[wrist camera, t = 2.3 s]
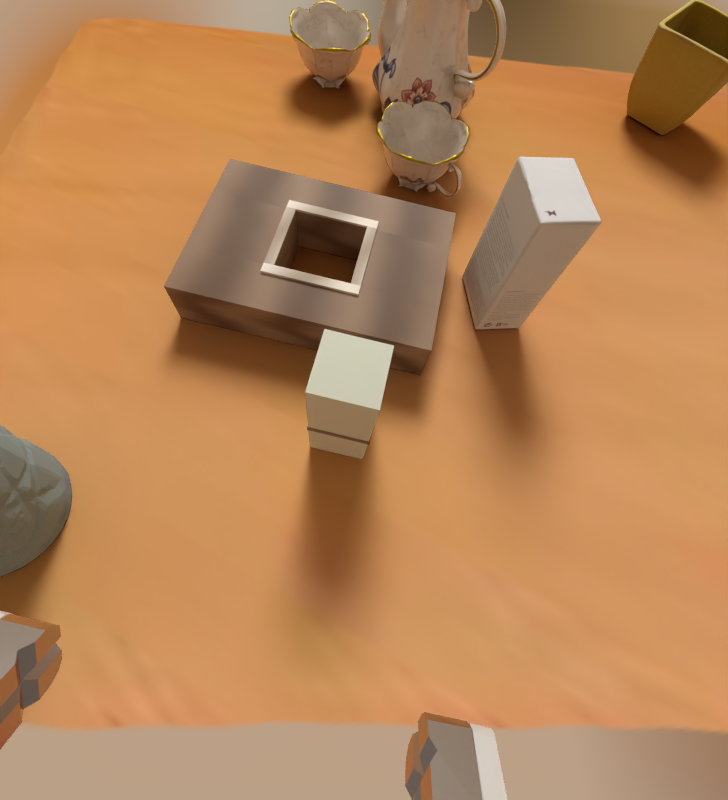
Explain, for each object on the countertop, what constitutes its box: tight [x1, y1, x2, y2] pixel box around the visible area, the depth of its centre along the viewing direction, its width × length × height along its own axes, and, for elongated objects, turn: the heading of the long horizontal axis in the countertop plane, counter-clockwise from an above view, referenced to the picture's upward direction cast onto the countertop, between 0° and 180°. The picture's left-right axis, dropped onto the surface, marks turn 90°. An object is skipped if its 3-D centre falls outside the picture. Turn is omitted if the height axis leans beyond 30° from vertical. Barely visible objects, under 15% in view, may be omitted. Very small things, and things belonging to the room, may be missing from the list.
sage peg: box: [305, 329, 394, 460], centre depth 27 cm, size 4×4×10 cm
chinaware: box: [290, 0, 506, 197], centre depth 39 cm, size 28×17×17 cm, turn 36°
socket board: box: [164, 159, 456, 375], centre depth 35 cm, size 20×14×4 cm
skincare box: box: [463, 157, 601, 329], centre depth 32 cm, size 6×4×12 cm
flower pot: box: [627, 0, 728, 135], centre depth 47 cm, size 9×9×9 cm
